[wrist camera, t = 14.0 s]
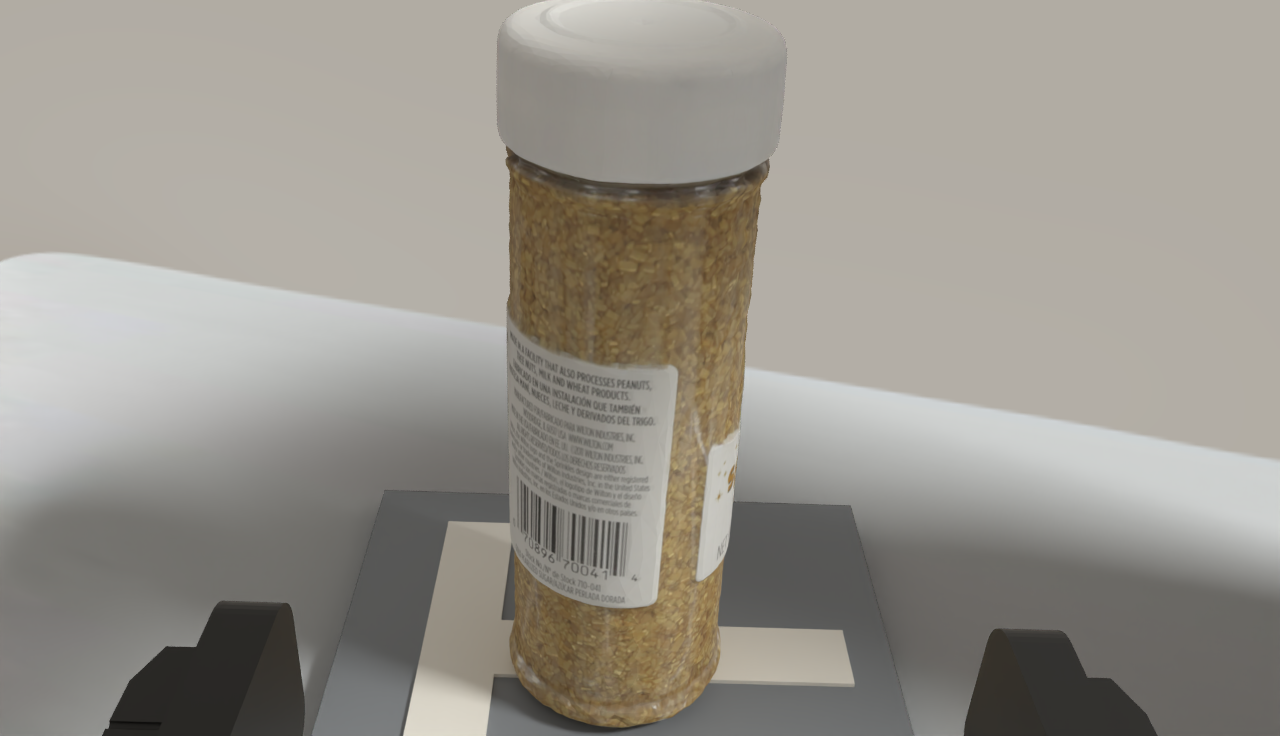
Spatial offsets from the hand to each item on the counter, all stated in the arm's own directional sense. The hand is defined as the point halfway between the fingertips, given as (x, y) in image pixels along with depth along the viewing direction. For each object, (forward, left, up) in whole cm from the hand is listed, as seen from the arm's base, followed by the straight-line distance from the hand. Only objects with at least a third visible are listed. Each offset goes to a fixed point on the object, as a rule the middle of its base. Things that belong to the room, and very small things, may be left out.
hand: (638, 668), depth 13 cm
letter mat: (0, -9, -9) cm, 12 cm away
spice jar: (0, -8, -8) cm, 12 cm away
